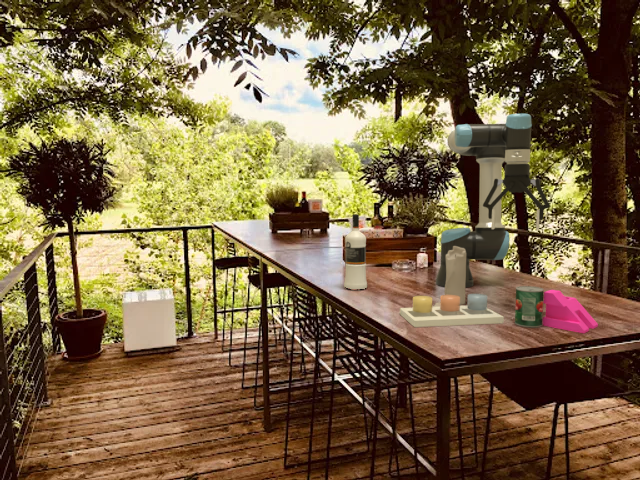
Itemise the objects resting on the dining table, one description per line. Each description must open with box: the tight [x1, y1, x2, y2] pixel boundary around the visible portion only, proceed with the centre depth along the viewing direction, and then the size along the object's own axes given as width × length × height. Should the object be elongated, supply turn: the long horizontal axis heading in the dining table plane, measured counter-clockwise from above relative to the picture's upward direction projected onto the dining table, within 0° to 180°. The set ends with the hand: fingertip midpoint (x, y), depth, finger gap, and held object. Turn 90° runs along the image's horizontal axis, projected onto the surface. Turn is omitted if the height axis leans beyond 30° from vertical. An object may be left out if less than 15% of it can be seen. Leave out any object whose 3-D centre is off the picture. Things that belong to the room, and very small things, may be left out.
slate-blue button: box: [466, 293, 488, 310], centre depth 173 cm, size 6×6×4 cm
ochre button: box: [412, 295, 433, 313], centre depth 170 cm, size 6×6×4 cm
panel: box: [399, 304, 505, 328], centre depth 172 cm, size 16×28×2 cm, turn 98°
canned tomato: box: [514, 285, 545, 328], centre depth 164 cm, size 8×8×11 cm
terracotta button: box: [439, 294, 461, 312], centre depth 171 cm, size 6×6×4 cm
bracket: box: [542, 289, 599, 334], centre depth 162 cm, size 12×10×10 cm
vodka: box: [343, 213, 368, 290], centre depth 218 cm, size 9×9×30 cm
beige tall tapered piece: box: [432, 246, 466, 307], centre depth 191 cm, size 7×14×20 cm, turn 130°
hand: (515, 229), depth 177 cm, fingers open, 13 cm apart
